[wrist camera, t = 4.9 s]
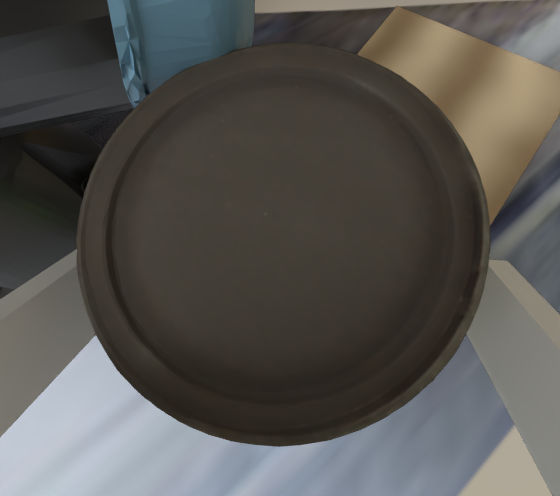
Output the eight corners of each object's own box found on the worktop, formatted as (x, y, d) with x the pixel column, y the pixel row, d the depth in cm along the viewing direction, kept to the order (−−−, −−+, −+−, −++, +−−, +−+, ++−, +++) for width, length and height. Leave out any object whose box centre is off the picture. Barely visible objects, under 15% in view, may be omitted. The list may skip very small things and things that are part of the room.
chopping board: (301, 144, 25) (300, 123, 22) (389, 35, 27) (396, 5, 25) (468, 240, 21) (488, 227, 19) (553, 106, 24) (580, 80, 21)
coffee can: (218, 358, 21) (44, 444, 7) (222, 210, 23) (96, 53, 9) (377, 358, 20) (532, 456, 6) (366, 204, 22) (463, 24, 8)
